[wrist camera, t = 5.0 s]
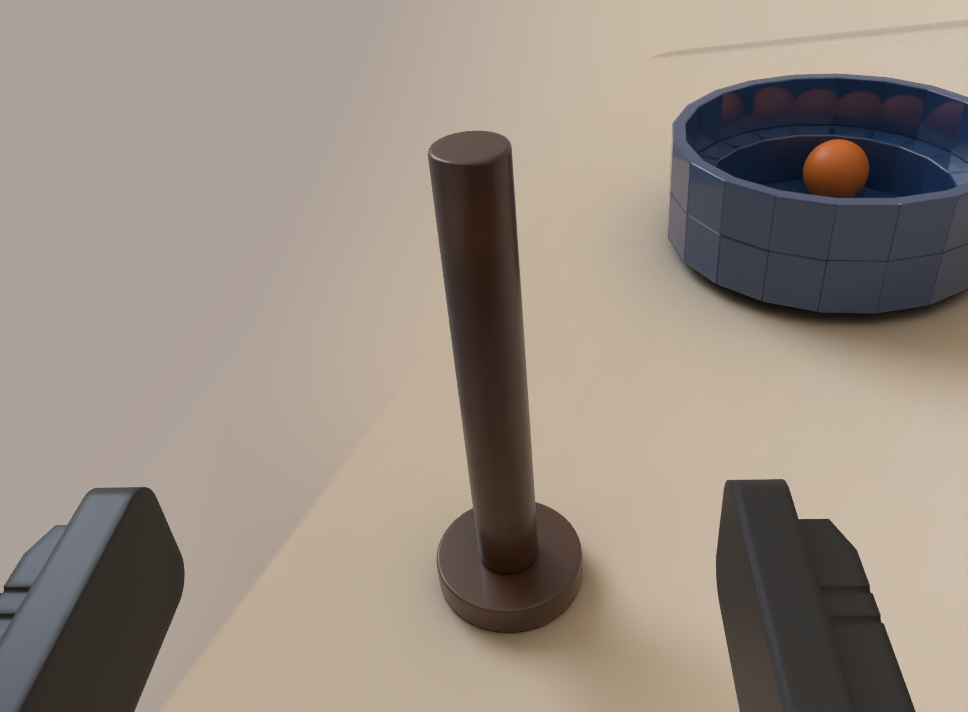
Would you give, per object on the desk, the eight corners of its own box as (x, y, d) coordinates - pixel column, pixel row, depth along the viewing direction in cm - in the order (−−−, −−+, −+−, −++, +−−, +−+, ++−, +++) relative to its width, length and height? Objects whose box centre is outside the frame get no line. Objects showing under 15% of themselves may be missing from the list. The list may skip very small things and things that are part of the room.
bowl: (813, 365, 34) (836, 241, 30) (610, 223, 44) (611, 119, 41) (1062, 259, 38) (1104, 141, 35) (824, 153, 49) (840, 54, 45)
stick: (478, 657, 25) (414, 213, 16) (418, 552, 28) (338, 138, 19) (610, 593, 26) (613, 153, 18) (537, 501, 29) (511, 93, 21)
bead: (830, 219, 42) (840, 160, 40) (786, 196, 44) (793, 139, 42) (876, 202, 42) (889, 144, 41) (831, 180, 45) (841, 124, 43)
